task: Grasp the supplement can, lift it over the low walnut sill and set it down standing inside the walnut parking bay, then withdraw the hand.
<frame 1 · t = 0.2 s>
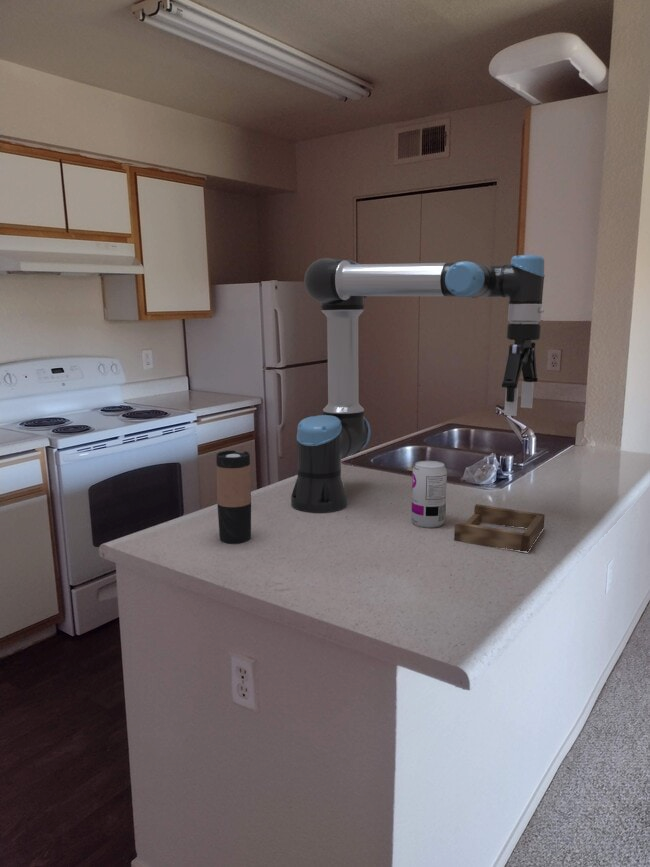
hand: (518, 411, 157), 27 cm above the countertop, fingers open, 13 cm apart
supplement can: (427, 523, 160), on the countertop
dock bay: (505, 536, 151), on the countertop
travel mug: (235, 539, 149), on the countertop
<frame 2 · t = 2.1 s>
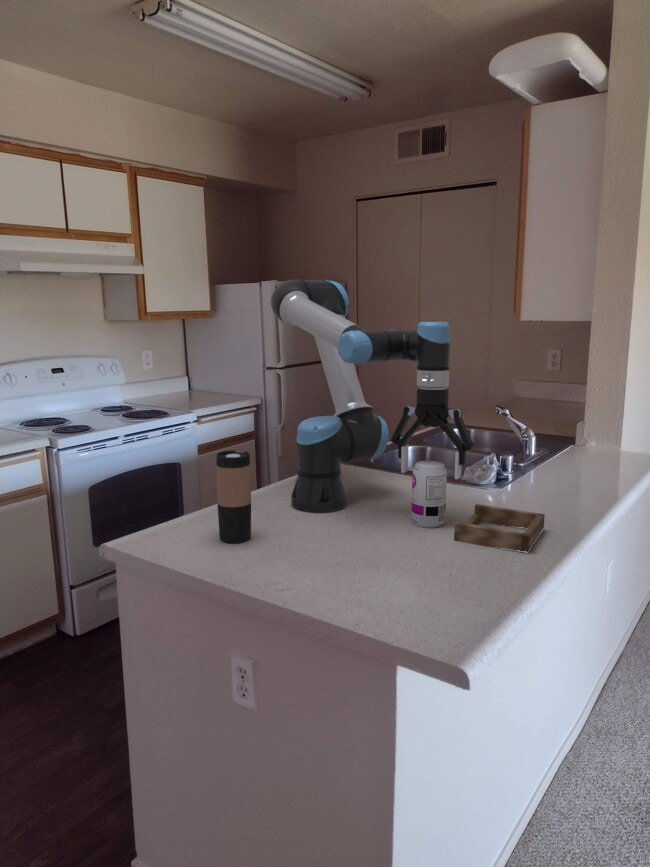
hand: (430, 474, 157), 12 cm above the countertop, fingers open, 13 cm apart
nothing on the countertop moved.
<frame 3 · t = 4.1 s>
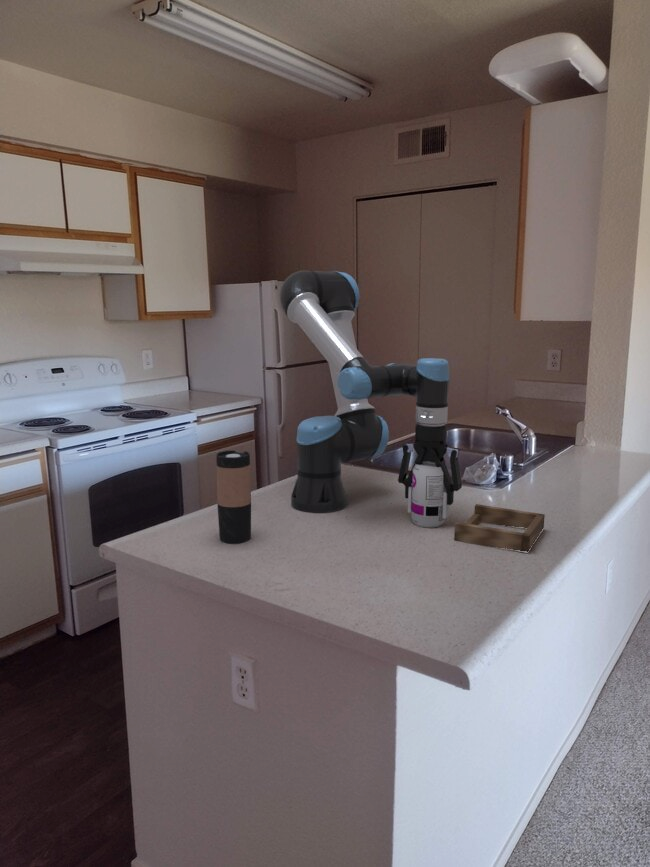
hand: (428, 513, 159), 2 cm above the countertop, fingers closed on supplement can, 8 cm apart
supplement can: (427, 523, 160), on the countertop, touching gripper
everything else where it was.
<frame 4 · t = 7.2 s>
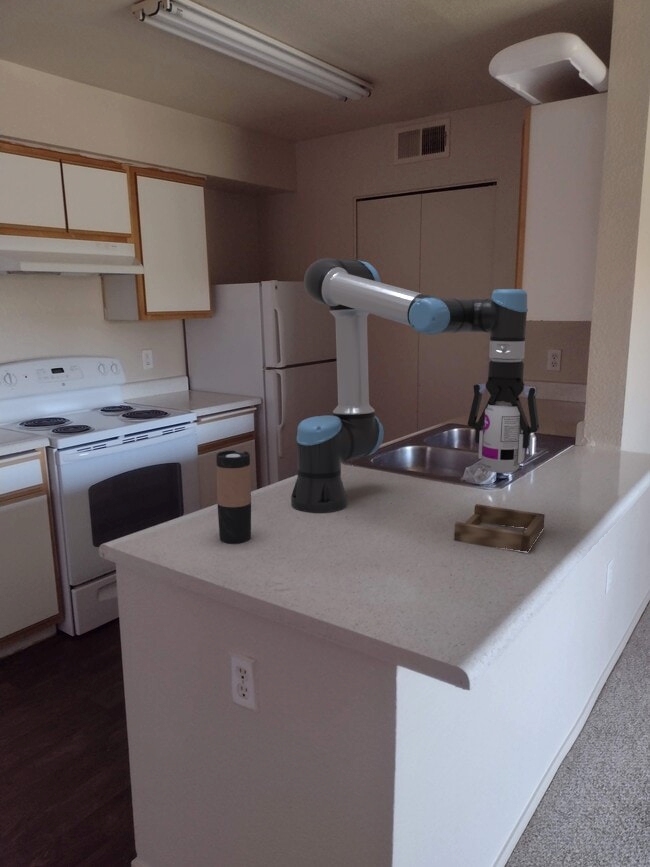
hand: (500, 459, 148), 18 cm above the countertop, fingers closed on supplement can, 8 cm apart
supplement can: (500, 469, 148), point 16 cm above the countertop, touching gripper
everything else where it was.
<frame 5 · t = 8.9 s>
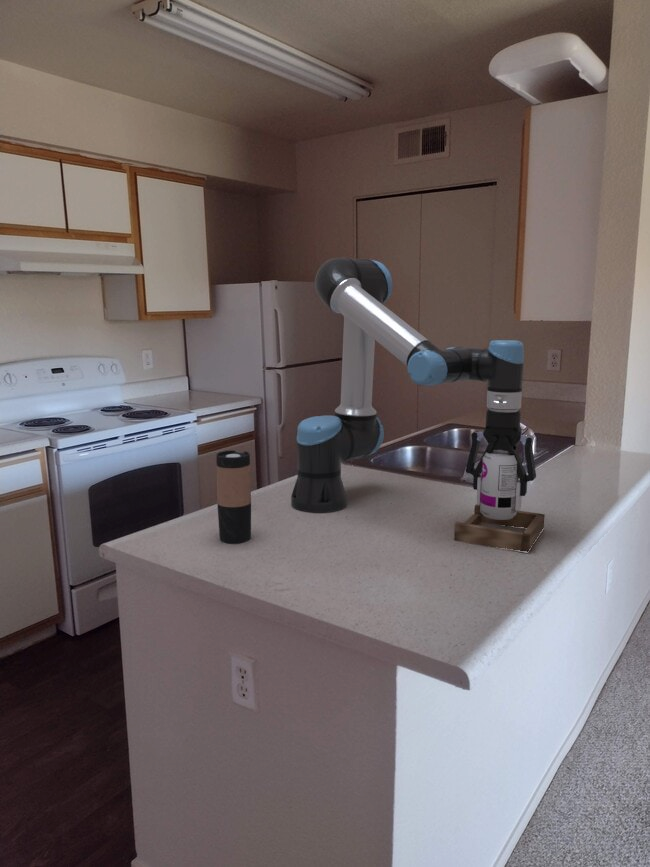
hand: (498, 505, 150), 7 cm above the countertop, fingers closed on supplement can, 8 cm apart
supplement can: (498, 516, 151), point 5 cm above the countertop, touching gripper
everything else where it was.
when the fingers open (4 cm above the countertop, at t = 10.4 s): supplement can drops 2 cm, resting in dock bay.
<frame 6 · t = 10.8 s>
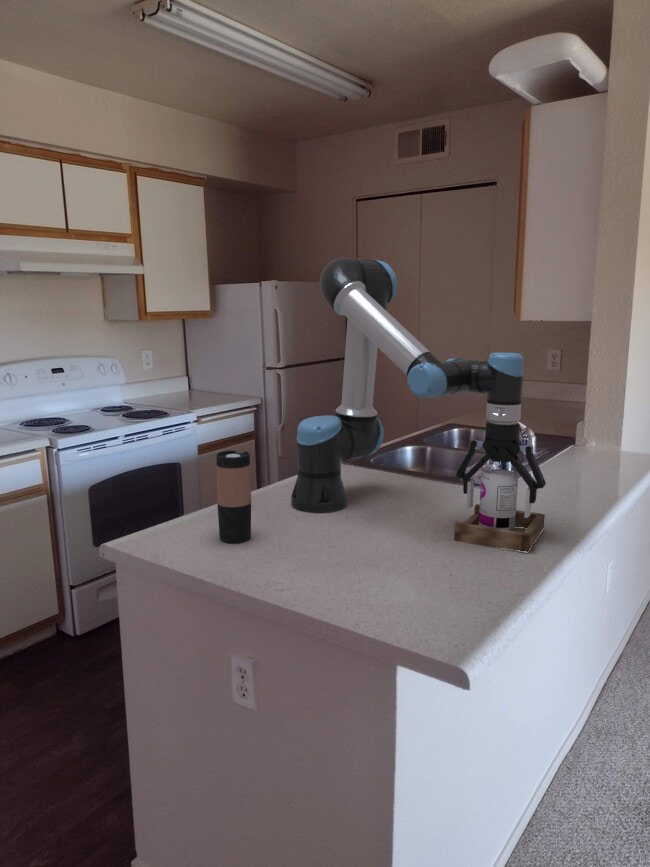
hand: (497, 511, 150), 6 cm above the countertop, fingers open, 13 cm apart
supplement can: (496, 535, 152), resting in dock bay
everything else where it was.
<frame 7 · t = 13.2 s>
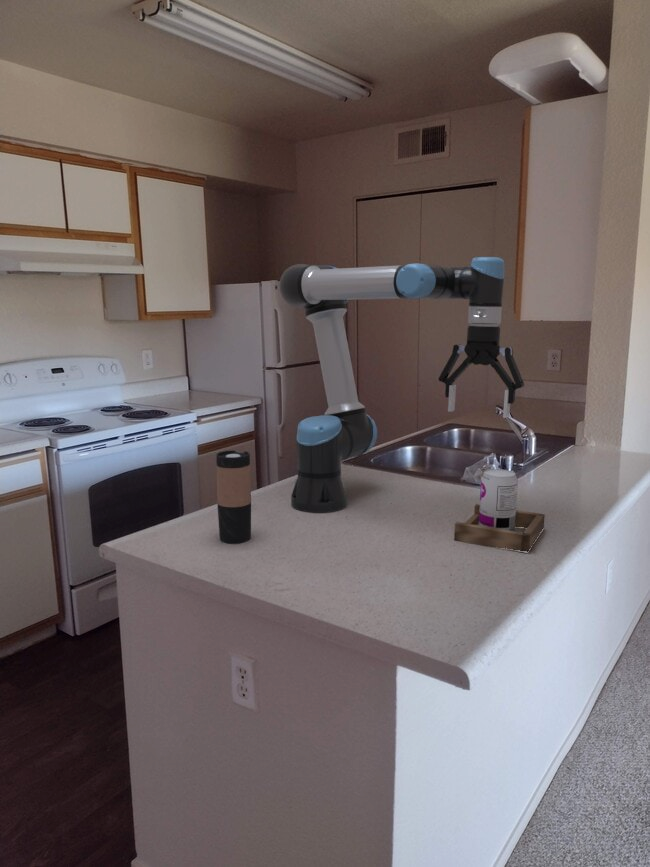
hand: (478, 414, 156), 27 cm above the countertop, fingers open, 13 cm apart
nothing on the countertop moved.
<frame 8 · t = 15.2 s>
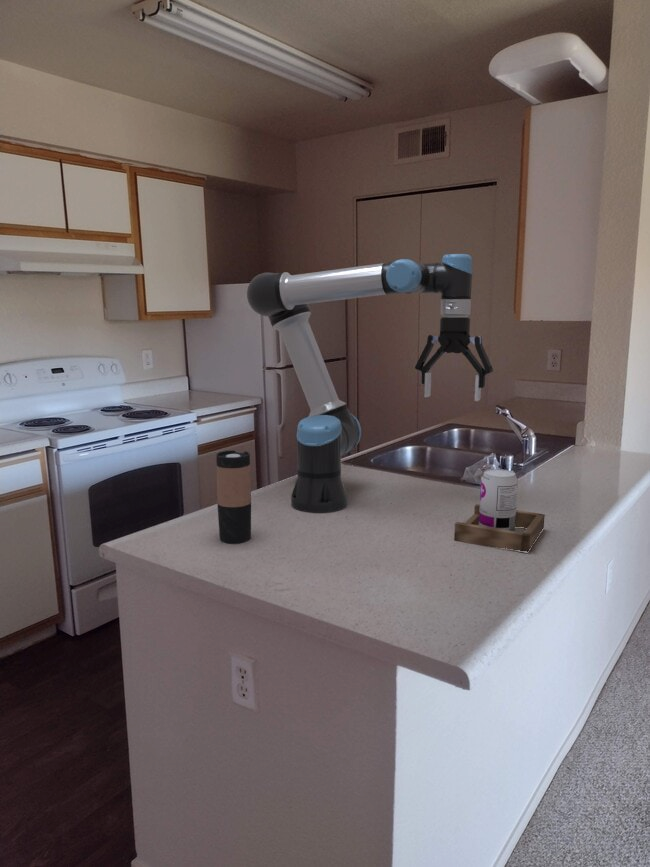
hand: (451, 398, 170), 29 cm above the countertop, fingers open, 13 cm apart
nothing on the countertop moved.
at the end: supplement can inside the target area (0.9 cm from its centre), resting in dock bay; supplement can tilted 0°; the gripper is holding nothing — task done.
